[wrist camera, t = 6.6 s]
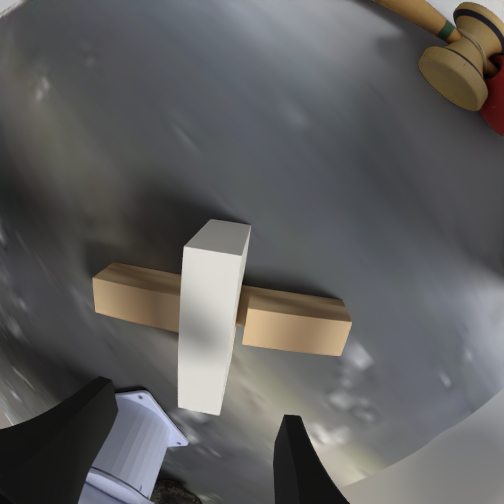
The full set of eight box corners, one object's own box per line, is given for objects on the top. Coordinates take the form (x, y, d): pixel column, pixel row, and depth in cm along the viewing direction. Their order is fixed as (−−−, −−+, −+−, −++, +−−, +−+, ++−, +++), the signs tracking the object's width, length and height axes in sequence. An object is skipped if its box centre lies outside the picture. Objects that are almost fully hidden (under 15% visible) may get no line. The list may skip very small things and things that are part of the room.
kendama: (291, 20, 15) (501, 175, 15) (294, -45, 9) (561, 162, 8) (340, -27, 14) (520, 107, 14) (351, -80, 8) (566, 84, 8)
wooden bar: (115, 293, 20) (95, 312, 17) (113, 262, 20) (92, 277, 17) (332, 330, 20) (340, 356, 17) (342, 299, 19) (352, 322, 16)
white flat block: (198, 350, 21) (178, 406, 16) (211, 219, 18) (183, 246, 13) (231, 356, 21) (219, 415, 16) (251, 225, 18) (241, 256, 13)
